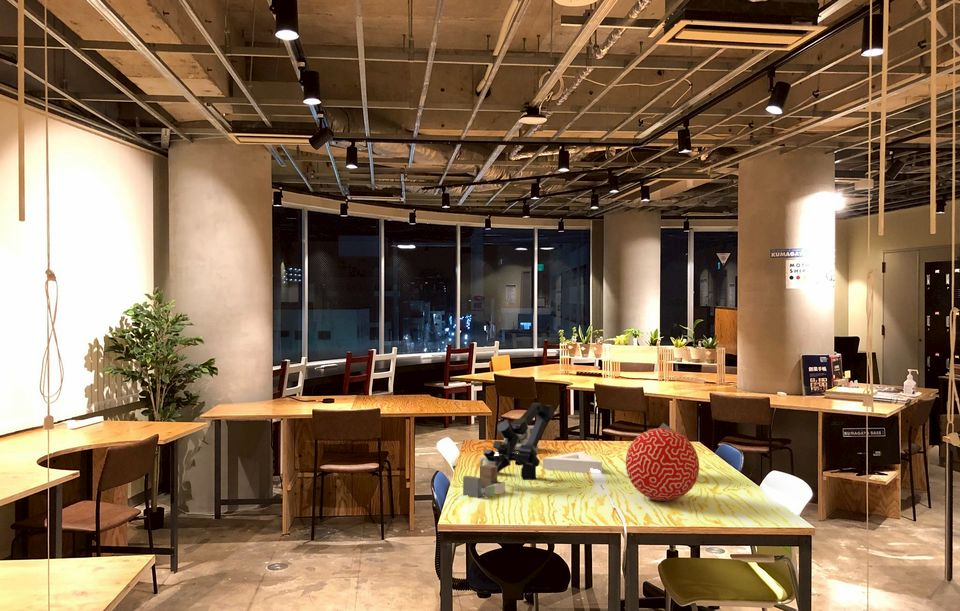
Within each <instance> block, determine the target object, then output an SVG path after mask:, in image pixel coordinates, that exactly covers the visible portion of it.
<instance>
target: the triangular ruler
mask: <svg viewBox="0 0 960 611" xmlns="http://www.w3.org/2000/svg"><path fill="white" fill-rule="evenodd" d="M590 468H593V469H598V470H600V471H601V472H602V473H603V462H602V461H600V460H599V459H596V458H595V457H593V456H591V455H589V454H587V453H585V452H584V451H582V450H581V451H576V452H570V453H565V454H560V455H555V456H549V457H543V458H542V470H543V469H548V470H547V471H554V470H560V471H559V472H568V471H572V472H573V473H584V474H585V473H586V474H590V473H589V471H590ZM572 472H571V473H572Z"/></svg>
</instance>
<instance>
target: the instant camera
mask: <svg viewBox="0 0 960 611" xmlns="http://www.w3.org/2000/svg"><path fill="white" fill-rule="evenodd" d="M533 427H534V425H528V429H527V431H526V432H525V434H524V435H519V434H517V435H518V437H520V440H521V443H517V445H516V447H515V449H514V450H515V453H519V452H518V451H519V450H520V447H521V445H525V444H527V442H528V439H529V437H530V434H531V432H532V430H533ZM505 439H506V438H503V442H504V441H505ZM536 451H537V452H538V453H539V443H538V444H537V447H536ZM513 453H514V452H513Z"/></svg>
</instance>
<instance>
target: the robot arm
mask: <svg viewBox="0 0 960 611" xmlns="http://www.w3.org/2000/svg"><path fill="white" fill-rule="evenodd" d="M555 412H556V410H555V408H554V406H553V405H547V404H542V403H539V402H533V403H531V405H530V407H529V408H528V409H526V411H525V412H524V413H523V414H522V416H520V417H519V418H517V419H514V420H513V421H512V422H510V420H509V419H504V421H502V422H501V421H500V423H499V424H497V426H496V427H497V430H498V432H499V434H500V435H501V436H502V438H503V439H504V438H506V439H505V441H504V440H503V441H502V440H501V441H500V440H494V441H493V446H492V448H493V449H495V451H494V450H493V449H489V448H488V449H485V450H484V452H483V455H484V457H486V458H487V459H488V460H489V461H492V462H494V461H495V466H497V473H498V472H499V473H500V472H501V471H502V470H503V469H505V468H507V467H509V466H511V462H512V461H514V463H515V466H518V467H519V466H520V467H521V469H520V471H521V472H520V477H521V478H522V480H537V467H538V466H540V460H539V458H538V454H537V451H536V447H537V444H538V445H539V442H540V439H541V437H542V434H543V432H544V430H545V427H546V425H547V423H549V422H550V421H551V420H552V419H553V417H554V416H555ZM535 417H536V418H535ZM534 419H536V420H535V423H534V425H533V426H534V427H533V430H532V432H531V434H530V437H529V439H528V442H527V444H525V445H521V447H520V450H519V451H518V452H519V453H518V454H517V453H515V450H514V449H515V447H516V445H517V443H521V440H520V437H518V435H517V434H519V435H524V434H525V432H526V431H527V429H528V426H529V424H530V423H531V422H532V421H533V420H534ZM513 452H514V453H513Z"/></svg>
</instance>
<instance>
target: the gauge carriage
mask: <svg viewBox="0 0 960 611" xmlns="http://www.w3.org/2000/svg"><path fill="white" fill-rule="evenodd" d="M482 465H483V466H480V465H479V478H481V487H484V488H485V487H487V486H490V485H494V484H497V483H501V482H502V481H498V474H497V466H492V465H485V464H482Z"/></svg>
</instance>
